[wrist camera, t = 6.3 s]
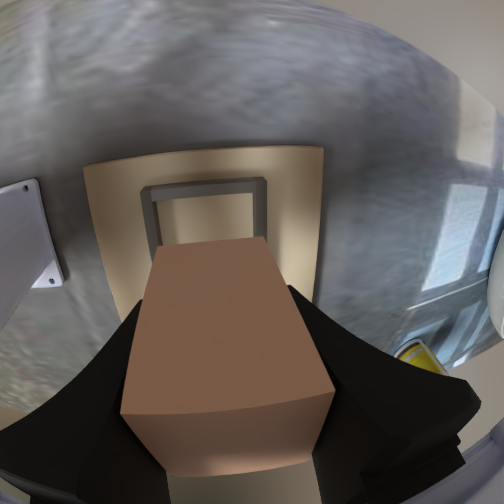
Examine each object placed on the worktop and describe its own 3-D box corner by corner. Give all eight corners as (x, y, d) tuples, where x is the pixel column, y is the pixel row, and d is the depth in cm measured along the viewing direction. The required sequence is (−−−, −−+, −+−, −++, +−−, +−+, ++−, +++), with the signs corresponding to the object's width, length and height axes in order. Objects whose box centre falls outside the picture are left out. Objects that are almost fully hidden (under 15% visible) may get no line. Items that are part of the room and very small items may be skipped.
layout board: (152, 384, 24) (150, 402, 22) (89, 164, 14) (74, 172, 13) (297, 369, 26) (304, 386, 24) (317, 146, 16) (332, 150, 14)
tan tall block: (174, 326, 12) (171, 476, 6) (157, 246, 10) (119, 413, 4) (263, 317, 13) (308, 460, 7) (263, 236, 11) (335, 390, 5)
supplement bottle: (383, 367, 29) (415, 421, 21) (404, 337, 27) (444, 392, 19) (408, 364, 30) (440, 413, 23) (429, 337, 28) (466, 385, 21)
